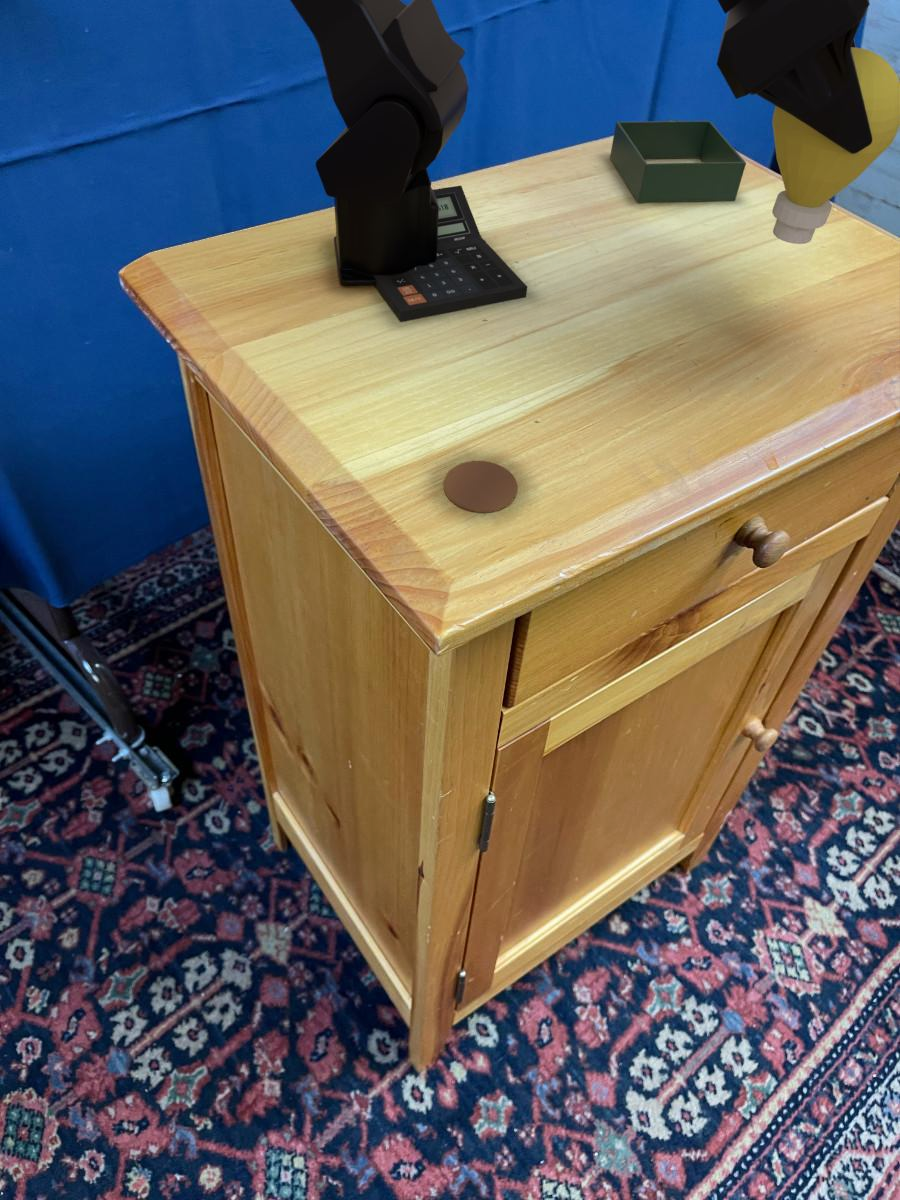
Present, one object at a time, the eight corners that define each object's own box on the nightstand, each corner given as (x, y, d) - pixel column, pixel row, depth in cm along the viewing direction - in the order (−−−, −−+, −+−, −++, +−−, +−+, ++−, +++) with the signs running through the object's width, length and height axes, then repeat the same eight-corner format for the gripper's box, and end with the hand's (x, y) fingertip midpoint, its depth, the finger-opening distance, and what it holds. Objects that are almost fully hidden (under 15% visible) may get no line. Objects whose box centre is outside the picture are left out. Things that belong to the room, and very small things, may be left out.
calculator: (400, 323, 57) (400, 281, 55) (341, 241, 64) (339, 201, 61) (525, 298, 60) (531, 256, 58) (456, 222, 67) (458, 182, 64)
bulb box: (637, 202, 70) (645, 164, 68) (609, 158, 75) (616, 121, 73) (735, 200, 71) (746, 162, 69) (700, 157, 76) (710, 120, 74)
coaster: (449, 515, 45) (449, 512, 45) (438, 465, 48) (438, 462, 48) (524, 509, 46) (524, 507, 46) (509, 460, 48) (509, 458, 48)
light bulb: (751, 199, 56) (809, 20, 48) (856, 227, 54) (933, 46, 47) (725, 242, 52) (784, 54, 44) (837, 273, 50) (918, 83, 43)
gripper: (918, -319, 30) (1062, 84, 37) (883, -336, 42) (997, -29, 49) (640, -68, 37) (806, 231, 44) (678, -145, 49) (804, 100, 56)
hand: (859, 123), depth 48 cm, fingers closed on light bulb, 6 cm apart
